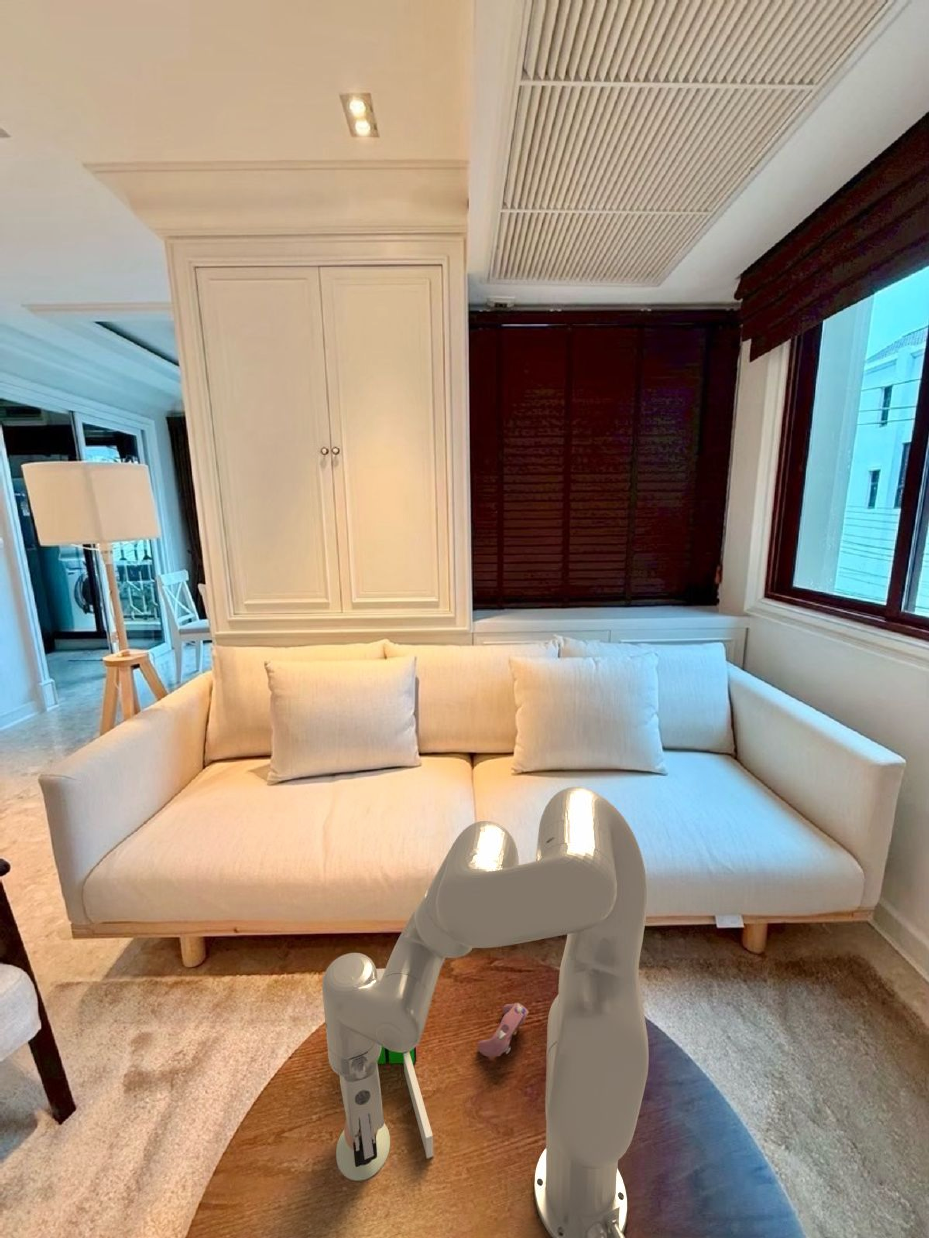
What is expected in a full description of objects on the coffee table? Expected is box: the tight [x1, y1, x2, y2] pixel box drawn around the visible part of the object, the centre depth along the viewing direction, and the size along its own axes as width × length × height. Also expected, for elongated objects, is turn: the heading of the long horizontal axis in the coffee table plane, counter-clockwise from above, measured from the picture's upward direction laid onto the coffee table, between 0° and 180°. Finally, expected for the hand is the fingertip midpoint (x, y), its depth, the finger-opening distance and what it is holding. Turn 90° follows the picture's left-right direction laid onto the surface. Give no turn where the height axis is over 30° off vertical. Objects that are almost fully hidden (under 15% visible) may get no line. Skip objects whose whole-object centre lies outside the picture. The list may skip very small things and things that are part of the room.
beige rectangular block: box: [403, 1052, 435, 1159], centre depth 83 cm, size 13×1×4 cm, turn 21°
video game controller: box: [477, 1002, 530, 1058], centre depth 93 cm, size 10×5×7 cm, turn 144°
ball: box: [343, 1118, 378, 1150], centre depth 78 cm, size 5×5×5 cm
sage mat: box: [335, 1122, 391, 1182], centre depth 79 cm, size 8×8×1 cm
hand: (362, 1137), depth 78 cm, fingers closed on ball, 4 cm apart
